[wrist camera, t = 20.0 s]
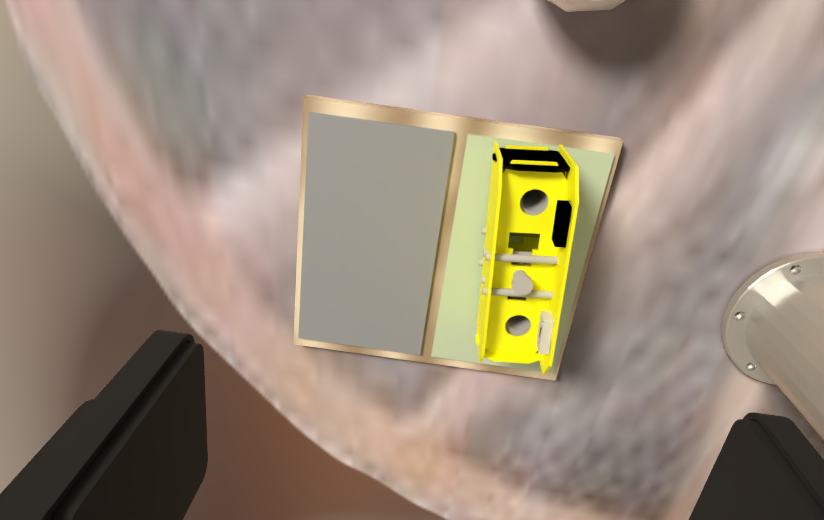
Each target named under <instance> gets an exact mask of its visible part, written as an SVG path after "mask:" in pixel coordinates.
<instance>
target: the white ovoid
mask: <svg viewBox="0 0 824 520" xmlns="http://www.w3.org/2000/svg"><path fill="white" fill-rule="evenodd" d="M548 1H549V2H551V3H553V4H554V5H556V6H558V7H559V8H561V9H563V10H564V11H566V12H573V11H591V10H610V9H613V8H615V7H616V6H618V5H619V4H621V3H623V2H624V1H626V0H548Z"/></svg>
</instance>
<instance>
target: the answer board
mask: <svg viewBox="0 0 824 520" xmlns="http://www.w3.org/2000/svg"><path fill="white" fill-rule="evenodd" d="M494 141H496V142H497V143H498V146H499V148H504V147H506V145H514V146H536V147H547V148H548V149H549V150H554V151H558V147H559V144H560V145H562V146H563V147H564V148H565V150H566V151H567V152H568V153H569V155H570V156H571V157H572V159H573V160H574V161H575V163H576V164H577V165H578V167H579V205H578V211H577V217H576V223H575V230H574V236H573V242H572V248H571V254H570V260H569V266H568V272H567V278H566V284H565V290H564V296H563V302H562V308H561V315H560V321H559V327H558V333H557V339H556V345H555V351H554V357H553V363H552V367H551V368H550V369H549V371H548V372H547V373H546V375H543V374H542V370H541V366H540V362H539V361H536V362H533V363H530V364H524V363H508V362H494V361H492V360H489V359H487V358H484V357H483V360H482V362H479V354H478V345H477V344H476V341H475V335H476V334H477V318H478V308H479V297H480V286H481V276H482V266H479V259H483V250H484V244H485V234H482V227H486V223H487V212H488V201H489V191H490V180H491V170H492V159H493V158H492V154H493V148H494ZM622 144H623V141H622V140H621V139H620V138H618V137H611V136H603V135H596V134H589V133H582V132H574V131H567V130H560V129H552V128H545V127H538V126H530V125H523V124H516V123H509V122H501V121H494V120H487V119H479V118H472V117H465V116H458V115H450V114H443V113H436V112H428V111H421V110H414V109H407V108H399V107H392V106H385V105H377V104H370V103H363V102H356V101H348V100H341V99H334V98H326V97H319V96H312V95H306V96H305V97H304V102H303V126H302V151H301V175H300V199H299V223H298V248H297V272H296V296H295V320H294V344H296V345H303V346H310V347H317V348H324V349H332V350H339V351H346V352H353V353H360V354H368V355H375V356H382V357H389V358H396V359H403V360H411V361H418V362H425V363H432V364H439V365H447V366H454V367H461V368H468V369H475V370H483V371H490V372H497V373H504V374H511V375H519V376H526V377H533V378H540V379H547V380H555V381H556V377H557V374H558V370H559V367H560V363H561V360H562V356H563V353H564V349H565V346H566V342H567V338H568V335H569V331H570V328H571V324H572V321H573V317H574V314H575V310H576V307H577V303H578V300H579V296H580V293H581V289H582V286H583V282H584V278H585V275H586V271H587V268H588V264H589V261H590V257H591V254H592V250H593V247H594V243H595V240H596V236H597V233H598V229H599V225H600V222H601V218H602V215H603V211H604V208H605V204H606V201H607V197H608V194H609V190H610V187H611V183H612V180H613V176H614V173H615V169H616V165H617V162H618V158H619V155H620V151H621V148H622ZM529 191H531V190H529ZM527 192H528V191H527ZM570 205H571V206H572V203H571V204H570ZM571 217H572V212H571ZM570 223H571V218H570ZM569 226H570V224H569ZM509 242H520V243H524V237H523V236H509ZM550 348H551V343H550ZM549 350H550V349H549Z"/></svg>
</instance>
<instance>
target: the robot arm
mask: <svg viewBox="0 0 824 520" xmlns="http://www.w3.org/2000/svg"><path fill="white" fill-rule="evenodd" d="M721 337H722V341H723V345H724V348H725V350H726V352H727V354H728V355H729V357H730V358H731V360H732V361H733V362H734V363H735V365H736V366H737V367H738V368H739V369H740V370H741V371H742V372H743V373H745V374H746V375H748V376H750V377H752V378H754V379H756V380H758V381H761V382H765V383H768V384H774V385H777V386H778V387H779V388H780V389H781V390H782V392H783V393H784V394H785V395H786V396H787V398H788V399H789V400H790V401H791V402H792V403H793V405H794V406H795V407H796V408H797V409H798V411H799V412H800V413H801V414H802V415H803V416H804V418H805V419H806V420H807V421H808V422H809V424H810V425H811V426H812V427H813V428H814V430H815V431H816V432H817V433H818V434H819V435H820V437H821V438H822V439H823V440H824V252H812V253H803V254H798V255H793V256H790V257H787V258H784V259H781V260H778V261H776V262H774V263H772V264H770V265H768V266H766V267H764V268H762V269H761V270H760V271H758V272H757V273H755V274H754V275H753V276H751V277H750V278H749V279H748V280H747V281H746V282H745V283H744V284H743V285H742V286H741V287H740V288H739V289H738V290H737V291H736V293H735V294H734V296H733V297H732V298H731V300H730V302H729V304H728V306H727V308H726V310H725V312H724V316H723V320H722V327H721ZM205 402H206V401H205V376H204V351H203V347H202V345H201V344H196V343H194V339H193V336H192V335H190V334H185V333H178V332H171V331H164V330H157V331H155V332H154V333H153V334H152V335H151V336H150V337H149V338H148V339H147V340H146V342H145V343H144V344H143V345H142V346H141V347H140V348H139V350H138V351H137V352H136V353H135V354H134V355H133V356H132V357H131V359H130V360H129V361H128V362H127V363H126V364H125V365H124V366H123V367H122V369H121V370H120V371H119V372H118V373H117V374H116V375H115V376H114V378H113V379H112V380H111V381H110V382H109V383H108V384H107V386H106V387H105V388H104V389H103V390H102V391H101V392H100V393H99V395H98V396H97V397H96V398H95V399H92V400H89V401H86V402H85V403H84V404H82V405H81V406H80V407H79V408H78V409H77V410H76V411H75V412H74V413H73V414H72V416H71V417H70V418H69V419H68V420H67V421H66V422H65V423H64V424H63V426H62V427H61V428H60V429H59V430H58V431H57V432H56V433H55V434H54V435H53V436H52V438H51V439H50V440H49V441H48V442H47V443H46V444H45V445H44V446H43V447H42V449H41V450H40V451H39V452H38V453H37V454H36V455H35V456H34V458H33V459H32V460H31V461H30V462H29V463H28V464H27V465H26V466H25V468H23V470H22V471H21V472H20V473H19V474H18V475H17V476H16V477H15V478H14V479H13V481H12V482H11V483H10V484H9V485H8V486H7V487H6V488H5V489H4V490H3V492H2V493H1V494H0V520H183V518H184V516H185V514H186V512H187V510H188V508H189V506H190V504H191V502H192V500H193V498H194V496H195V494H196V492H197V491H198V489H199V487H200V485H201V483H202V481H203V478H204V476H205V473H206V468H207V462H208V453H207V429H206V428H207V427H206V403H205ZM689 520H824V460H823V459H822V457H821V456H820V455H819V454H818V452H817V451H816V450H815V449H814V447H813V446H812V445H811V444H810V442H809V441H808V440H807V439H806V438H805V436H804V435H803V434H802V433H801V431H800V430H799V429H798V428H797V426H796V425H795V424H794V423H793V422H792V421H791V420H790V419H789V418H786V417H782V416H775V415H768V414H760V413H748V414H747V415H746V416H745V417H744V418H743V420H742V419H740V420H737V421H736V422H735V423H734V424H733V426H732V428H731V430H730V432H729V434H728V436H727V439H726V441H725V443H724V445H723V447H722V449H721V451H720V454H719V456H718V458H717V460H716V462H715V464H714V467H713V469H712V471H711V473H710V475H709V477H708V479H707V482H706V484H705V486H704V488H703V490H702V492H701V495H700V497H699V499H698V501H697V503H696V505H695V507H694V510H693V512H692V514H691V516H690V518H689Z"/></svg>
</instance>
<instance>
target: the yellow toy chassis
mask: <svg viewBox="0 0 824 520" xmlns="http://www.w3.org/2000/svg"><path fill="white" fill-rule="evenodd" d="M492 158H493V159H492V170H491V180H490V191H489V201H488V212H487V223H486V227H482V234H485V244H484V250H483V259H479V266H482V276H481V286H480V297H479V308H478V318H477V334H476V335H475V341H476V344H477V345H478V354H479V362H482V360H483V357H484V358H487V359H489V360H492V361H494V362H508V363H524V364H530V363H533V362H536V361H539V362H540V366H541V370H542V374H543V375H546V373H547V372H548V371H549V369H550V368H551V367H552V363H553V357H554V351H555V345H556V339H557V333H558V327H559V321H560V315H561V308H562V302H563V296H564V290H565V284H566V278H567V272H568V266H569V260H570V254H571V248H572V242H573V236H574V230H575V223H576V217H577V211H578V205H579V167H578V165H577V164H576V163H575V161H574V160H573V159H572V157H571V156H570V155H569V153H568V152H567V151H566V150H565V148H564V147H563V146H562V145H560V144H559V147H558V151H554V150H549V149H548V148H547V147H536V146H514V145H506V147H504V148H499V146H498V143H497V142H496V141H494V148H493V154H492ZM529 190H531V191H529ZM527 191H528V192H527ZM571 203H572V206H571V205H570V204H571ZM571 212H572V217H571ZM570 218H571V223H570ZM569 224H570V226H569ZM509 236H523V237H524V243H520V242H509ZM550 343H551V348H550ZM549 349H550V350H549Z"/></svg>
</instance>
